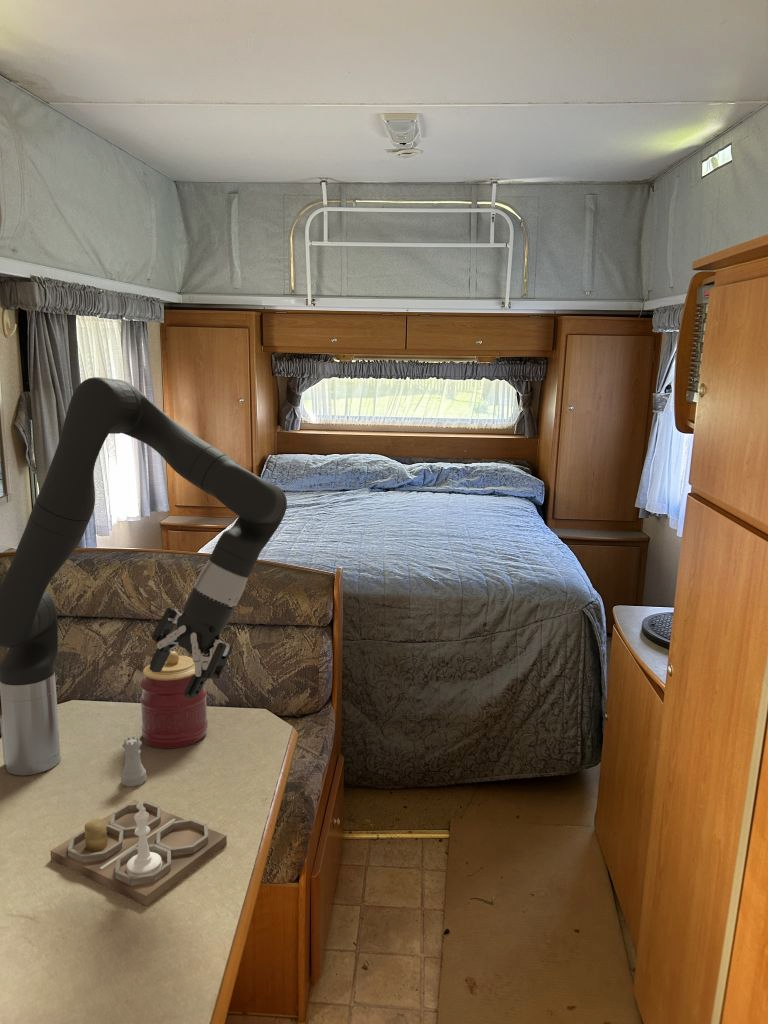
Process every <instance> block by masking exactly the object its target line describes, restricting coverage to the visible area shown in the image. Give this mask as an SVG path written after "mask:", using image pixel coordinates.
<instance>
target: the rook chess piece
mask: <svg viewBox="0 0 768 1024" xmlns="http://www.w3.org/2000/svg"><path fill="white" fill-rule="evenodd" d="M123 741H124V743H122V746H121V747H122V748H123V749H124V751H125V752H124V753H123V754H124V756H125V762H124V767H123V770H122V771H121V774H120V778H121V779H120V783H121V784H122V785H123V786H124V787H127V788H133V787H134V788H135V787H138V786H141V785H143V784H144V783H145V781H146V780H147V778H148V777H147V771H146V770H147V769H146V768H144V765H143V764H142V761H141V755H140V754H141V753H142V750H141V749H140V747H141V746H142V744H143V743H142V741H141V740H140V737H139V736H135V735H132V738H131V736H128V737H126V738H125V739H124V740H123Z"/></svg>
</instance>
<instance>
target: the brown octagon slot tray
mask: <svg viewBox="0 0 768 1024" xmlns="http://www.w3.org/2000/svg"><path fill="white" fill-rule="evenodd" d="M139 802H140V801H139V800H135V799H134V800H132V801H131V802H128V803H127V804H124V805H123V806H122V807H120V808H118V809H116V810H115V811H113V812H112V813H110V814H108V815H107V816H105V817H104V818H94V819H91V820H88V821H87V822H86V823H85V824H84V829H83V830H81V831H80V832H78V833H76V834H74V835H73V836H71V837H70V838H69V839H68V840H65V841H63V842H62V843H60V844H59V845H57V846H55V847H54V848H52V849H50V850H49V851H50V861H53V862H55V863H57V864H59V865H61V866H63V867H65V868H67V869H69V870H71V871H73V872H76V873H78V874H80V875H82V876H84V877H86V878H88V879H90V880H92V881H94V882H96V883H99V884H100V885H103V886H105V887H106V888H109V889H110V890H113V891H114V892H118V893H119V894H120V895H123V896H125V897H127V898H129V899H131V900H133V901H135V902H137V903H140V904H142V905H144V906H146V907H147V906H149V905H150V904H151V903H153V902H154V901H156V899H158V898H160V897H161V896H162V895H163V894H165V893H166V892H167V891H168V890H170V889H172V887H173V886H175V885H176V884H177V883H179V882H180V881H181V880H182V879H184V878H185V877H186V876H187V875H189V874H190V873H192V872H193V871H194V870H195V869H197V868H198V867H199V866H200V865H202V864H204V863H205V862H206V861H208V859H210V858H211V857H212V856H214V855H215V854H216V853H218V852H219V851H220V850H222V849H223V848H225V846H226V845H227V844H228V843H227V842H228V841H227V837H228V835H227V834H224V833H221V832H218V831H216V830H213V829H212V828H211V829H210V828H208V824H207V823H204V822H202V821H200V820H197V819H194V818H190V819H185V818H183V817H180V816H178V815H175V814H173V813H170V812H167V811H164V810H162V807H161V805H158V804H155V803H152V802H150V801H142V802H143V807H145V808H146V812H148V813H149V818H148V821H147V824H146V826H148V827H149V828H150V832H149V833H148V834H146V836H147V842H148V847H149V851H150V852H154V853H157V854H159V855H160V857H161V859H162V866H161V868H160V869H158V870H157V871H155V872H154V873H152V874H146V875H139V876H133V877H132V876H130V875H129V874H128V873H127V872H126V868H127V863H128V861H129V860H130V859H131V858H132V857H133V856H135V855H137V854H138V845H139V836H137V835H135V829H136V828H138V826H137V823H136V821H135V819H134V816H135V814H136V813H138V812H139V809H138V808H137V807H136V805H137V804H139Z"/></svg>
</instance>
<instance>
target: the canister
mask: <svg viewBox="0 0 768 1024" xmlns="http://www.w3.org/2000/svg"><path fill="white" fill-rule="evenodd" d="M169 651H170V654H169V656H168V658H167V660H166V662H165V664H164V666H163V668H162V670H161V671H160V672H152V671H151V670H150V669H149V668H150V663H149V664H148V665H146V666H145V667H144V668H143V670H142V673H143V677H141V678H140V680H139V687H140V689H141V690H142V694H141V695H140V698H139V700H140V704H141V706H140V707H141V727H140V728H141V736H142V739H143V741H144V743H146V744H147V745H149V746H150V747H154V748H159V749H176V748H182V747H183V748H184V747H187V746H189V745H192V744H195V743H197V742H199V741H200V739H201V740H202V739H203V738H204V737H205V736H206V735H207V734H208V727H209V719H208V713H207V712H208V711H207V695H208V691H207V689H206V688H205V684H204V685H203V687H202V689H201V691H200V693H199V695H198V696H195V697H194V698H186V697H185V696H184V692H185V690H186V688H187V686H188V684H189V682H190V680H191V678H192V676H193V675H195V663H194V662H193V659H192V657H190V656H186V655H179V653H178V651H174V650H172V651H171V650H169Z"/></svg>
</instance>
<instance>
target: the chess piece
mask: <svg viewBox="0 0 768 1024" xmlns="http://www.w3.org/2000/svg"><path fill="white" fill-rule="evenodd" d="M143 802H144V801H139V804H137V805H136V807H137V808H138V809H139V812H138V813H136V814H135V816H134V819H135V821H136V823H137V826H138V828H136V829H135V835H137V836H139V845H138V854H137V855H135V856H133V857H132V858H131V859H130V860H129V861H128V863H127V868H126V872H127V873H128V874H129V875H130V876H132V877H133V876H139V875H146V874H152V873H154V872H155V871H157V870H158V869H160V868H161V866H162V859H161V857H160V855H159V854H157V853H154V852H150V851H149V847H148V842H147V836H146V834H148V833H149V832H150V828H149V827H148V826H146V824H147V821H148V818H149V813H148V812H146V808H145V807H143Z"/></svg>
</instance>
